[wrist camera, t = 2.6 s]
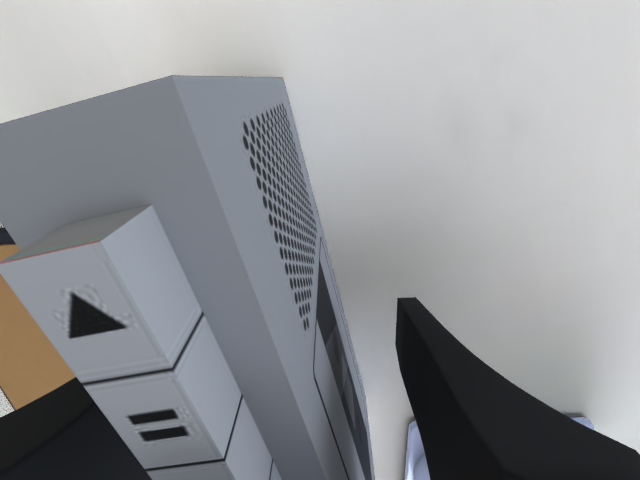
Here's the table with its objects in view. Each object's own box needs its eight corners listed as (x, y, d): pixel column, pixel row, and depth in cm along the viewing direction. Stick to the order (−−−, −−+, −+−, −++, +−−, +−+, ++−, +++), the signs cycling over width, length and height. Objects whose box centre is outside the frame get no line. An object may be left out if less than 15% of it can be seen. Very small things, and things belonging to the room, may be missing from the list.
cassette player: (365, 397, 18) (402, 720, 9) (315, 404, 18) (302, 722, 9) (283, 77, 12) (113, 74, 2) (208, 97, 12) (-179, 158, 3)
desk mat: (223, 217, 14) (218, 223, 13) (278, 502, 22) (276, 514, 22) (-81, 231, 14) (-100, 238, 14) (85, 503, 23) (78, 515, 22)
